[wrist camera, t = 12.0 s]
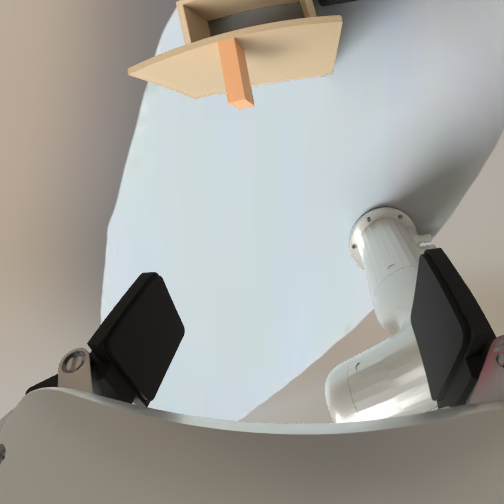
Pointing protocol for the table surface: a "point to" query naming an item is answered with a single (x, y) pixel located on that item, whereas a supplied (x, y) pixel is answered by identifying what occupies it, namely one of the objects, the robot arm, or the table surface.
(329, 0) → the graphics card box
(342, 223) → the table surface
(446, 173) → the table surface
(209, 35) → the carton
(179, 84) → the flap
